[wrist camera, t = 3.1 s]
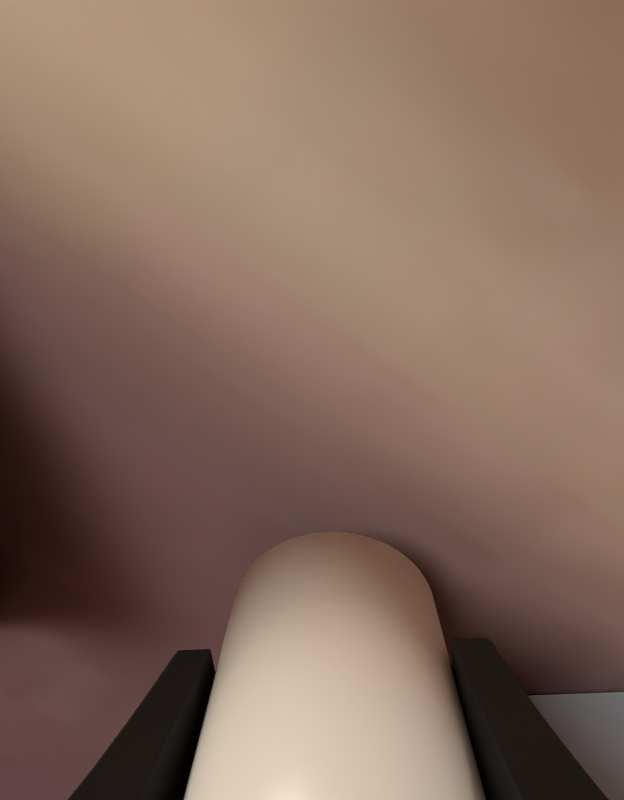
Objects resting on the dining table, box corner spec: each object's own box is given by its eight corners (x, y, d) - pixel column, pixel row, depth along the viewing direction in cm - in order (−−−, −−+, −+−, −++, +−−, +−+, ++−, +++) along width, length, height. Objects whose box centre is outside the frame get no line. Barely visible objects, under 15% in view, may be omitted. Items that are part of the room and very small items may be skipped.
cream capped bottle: (434, 525, 10) (599, 1038, 4) (436, 688, 12) (559, 1251, 5) (219, 537, 11) (47, 1034, 4) (248, 695, 12) (153, 1235, 6)
